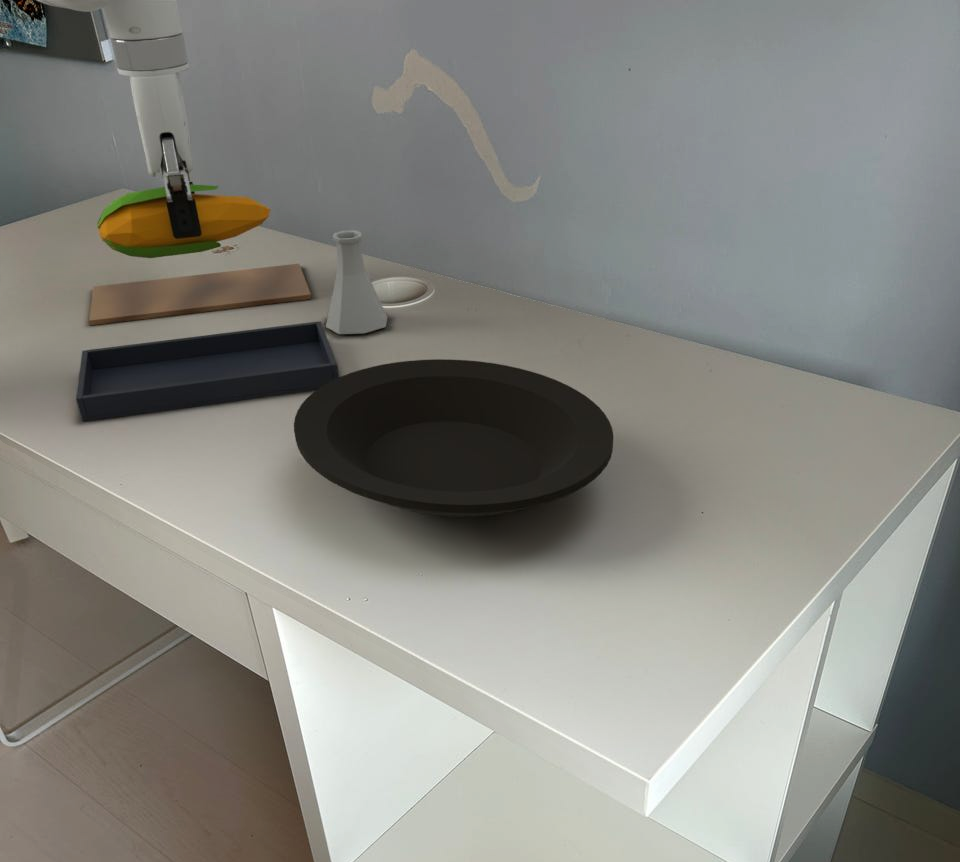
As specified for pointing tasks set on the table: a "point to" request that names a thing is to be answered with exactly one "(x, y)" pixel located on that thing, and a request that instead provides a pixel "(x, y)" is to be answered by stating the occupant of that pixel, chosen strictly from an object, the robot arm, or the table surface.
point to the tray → (203, 370)
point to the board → (197, 293)
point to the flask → (353, 290)
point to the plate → (453, 436)
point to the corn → (147, 229)
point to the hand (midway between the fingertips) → (186, 226)
